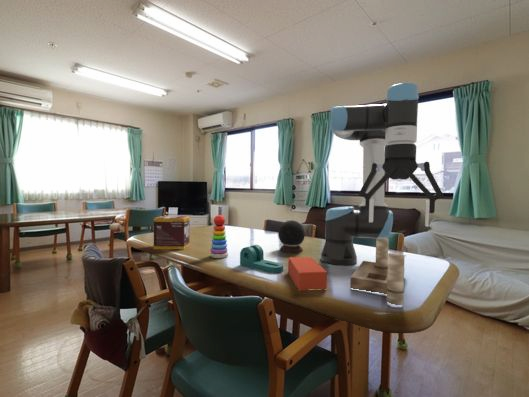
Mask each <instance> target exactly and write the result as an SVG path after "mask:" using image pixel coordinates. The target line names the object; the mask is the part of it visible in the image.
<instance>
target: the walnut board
mask: <svg viewBox="0 0 529 397" xmlns="http://www.w3.org/2000/svg"><path fill="white" fill-rule="evenodd" d="M389 241H390V239H389V238H388V237H387V238H376V240H375V262H374V261H370V260H369V261H368V260H362V262H361V263H360V265H359V266H358V267H357V269H356V270H355V271H354V272H353V273H352V275H351V276H350V288H353V289H359V290H366V291H371V292H379V293H384V294H387V279H388V254H389V246H390V245H389ZM350 288H349V289H350Z"/></svg>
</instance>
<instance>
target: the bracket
mask: <svg viewBox="0 0 529 397" xmlns="http://www.w3.org/2000/svg"><path fill="white" fill-rule="evenodd" d="M264 254H265V253H264V250H263V248H262V246H261V245H259V244H254V245H253V244H252V245H250V246H245V247H243V248H241V250H240V253H239V266H241V267H244V268H245V267H246V268H249V269H253V270H258V271H262V272H266V273H270V274H281V273H283V272H284V264H283V263H281V262H276V261H272V260H267V259H265V258H264Z"/></svg>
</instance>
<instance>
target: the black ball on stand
mask: <svg viewBox="0 0 529 397" xmlns="http://www.w3.org/2000/svg"><path fill="white" fill-rule="evenodd" d="M277 234H278V239H279V241H280V243H282V244H283V245H282V246H280V248H279V251H280V252H281V253H284V254H285V253H286V254H299V253H302V252H304V251H303V250H304V249H303V248H302V246H301V244H302V243H303V242H304V240H305V237H306V231H305V228H304V226H303V225H302V223H300V222H298V221H296V220H286V221H284V222H283V223H282V224H281V225H280V227H279V228H278V233H277Z"/></svg>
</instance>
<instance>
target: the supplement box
mask: <svg viewBox="0 0 529 397" xmlns="http://www.w3.org/2000/svg"><path fill="white" fill-rule="evenodd" d="M190 237H191V236H190V216H189V215H185V216H183V215H181V216H180V215H162V216H158V217H154V218H153V250H171V249H184V250H185V249H187V248H188V247H189V246H190V244H191V243H190ZM186 247H187V248H186Z"/></svg>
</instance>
